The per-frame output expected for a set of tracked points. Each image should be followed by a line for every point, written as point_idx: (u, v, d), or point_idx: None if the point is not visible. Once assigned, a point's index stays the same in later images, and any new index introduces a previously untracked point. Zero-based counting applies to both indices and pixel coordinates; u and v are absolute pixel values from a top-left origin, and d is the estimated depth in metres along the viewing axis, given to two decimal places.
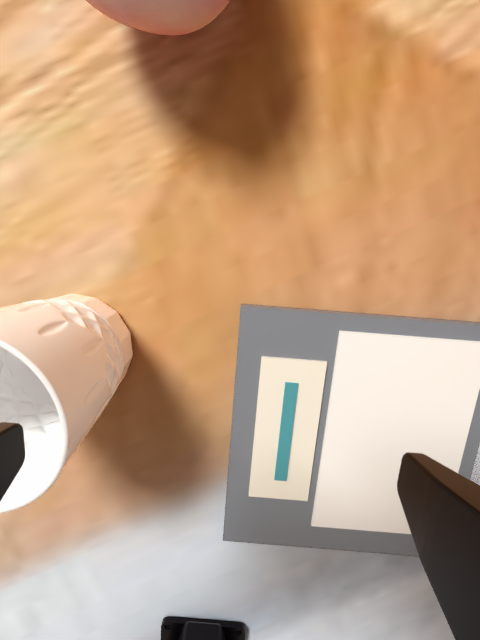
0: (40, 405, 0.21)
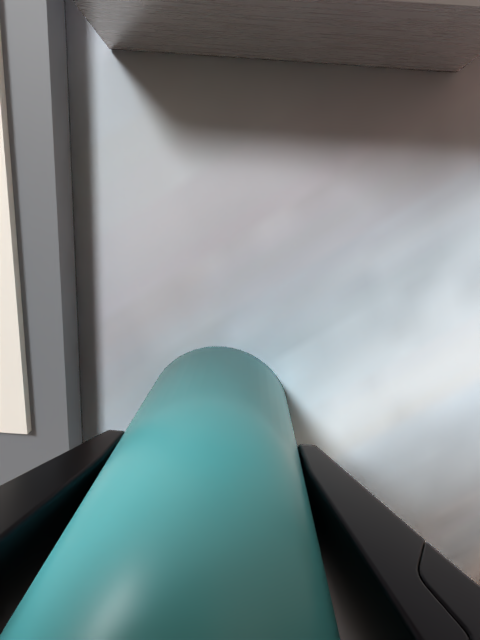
0: None
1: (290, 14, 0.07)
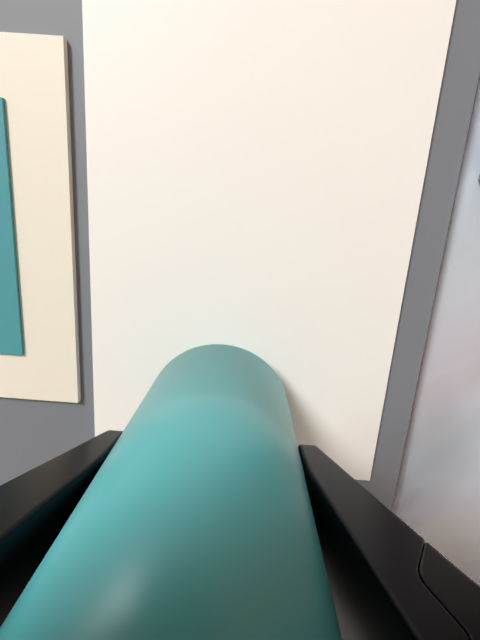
0: None
1: None
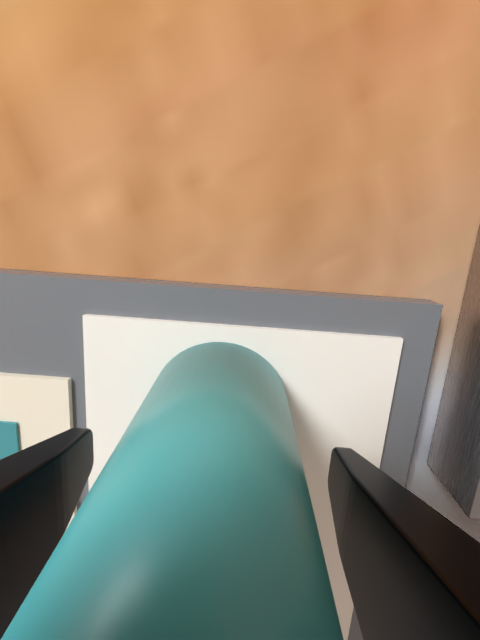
0: None
1: None
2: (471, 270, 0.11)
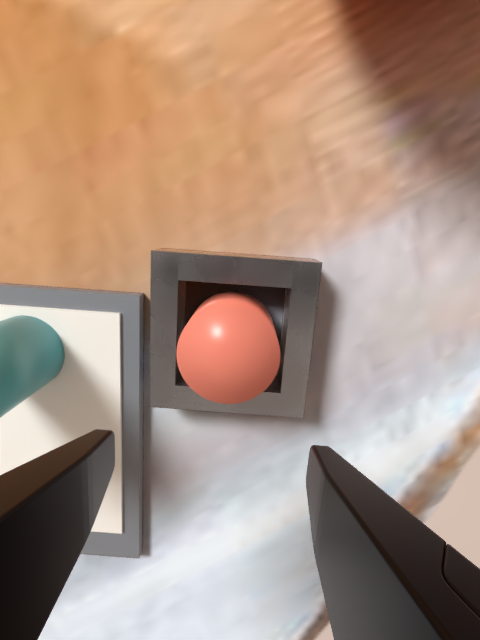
0: None
1: None
2: None
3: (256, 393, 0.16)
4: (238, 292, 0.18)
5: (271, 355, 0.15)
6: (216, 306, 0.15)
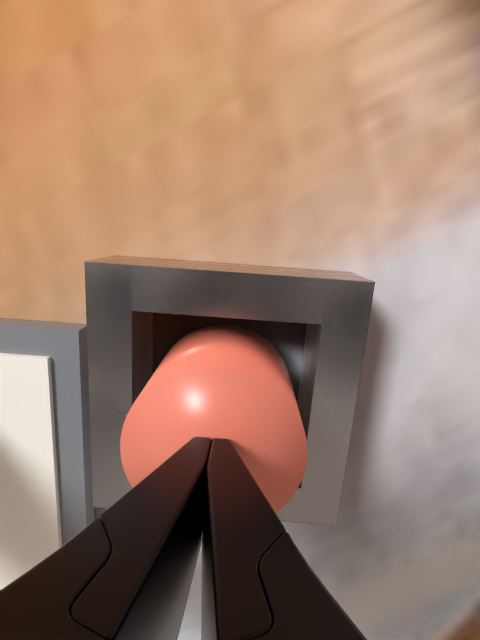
0: None
1: None
2: None
3: None
4: (233, 327, 0.11)
5: (291, 453, 0.08)
6: (190, 367, 0.08)
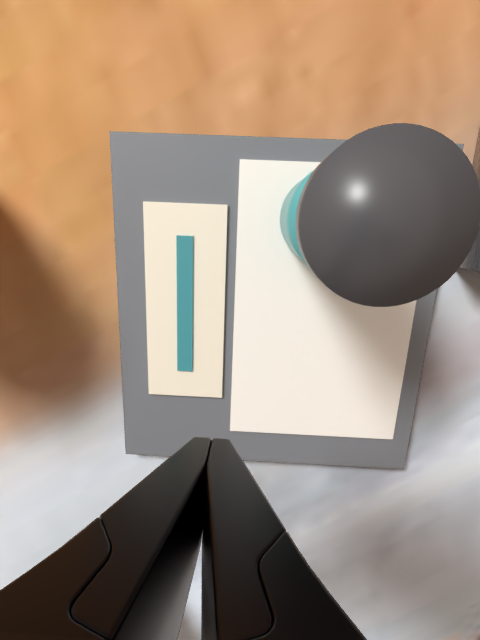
0: None
1: None
2: None
3: None
4: None
5: None
6: None
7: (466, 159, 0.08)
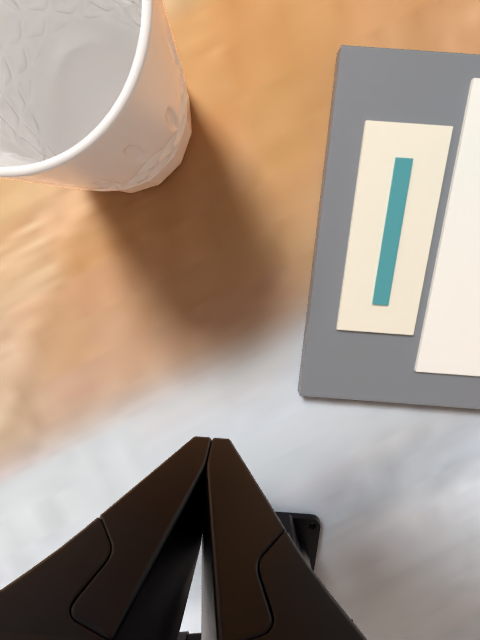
0: None
1: None
2: None
3: None
4: None
5: None
6: None
7: None
